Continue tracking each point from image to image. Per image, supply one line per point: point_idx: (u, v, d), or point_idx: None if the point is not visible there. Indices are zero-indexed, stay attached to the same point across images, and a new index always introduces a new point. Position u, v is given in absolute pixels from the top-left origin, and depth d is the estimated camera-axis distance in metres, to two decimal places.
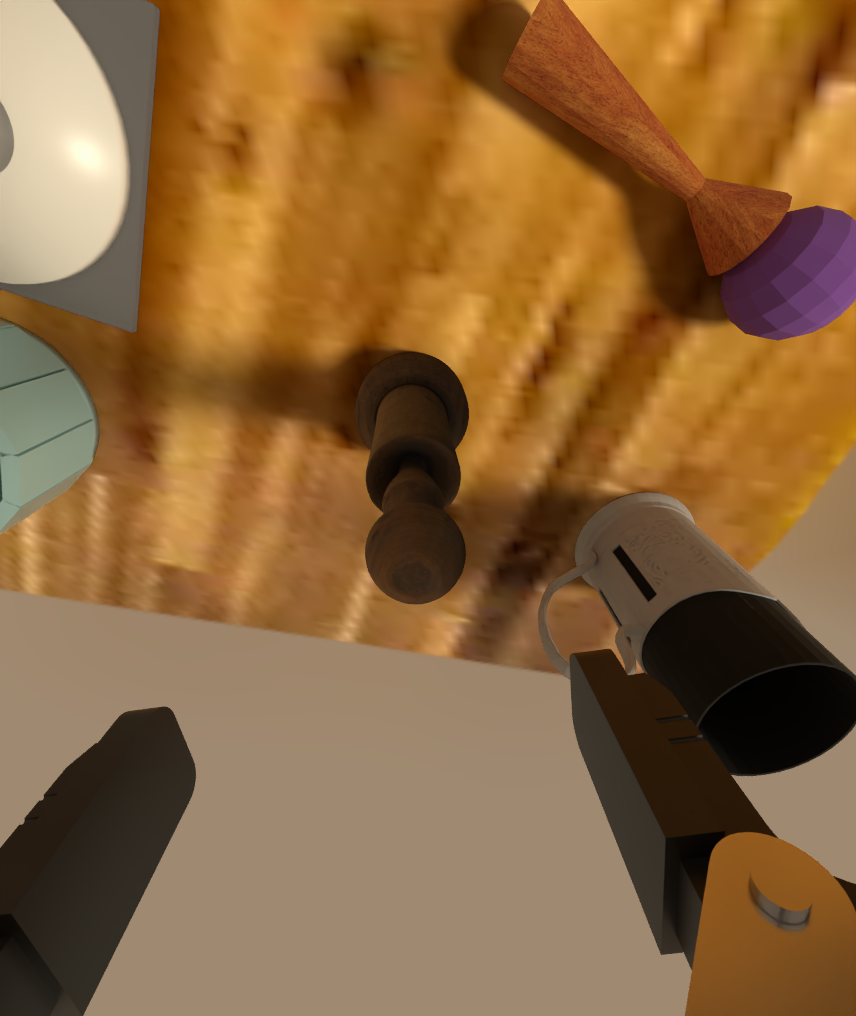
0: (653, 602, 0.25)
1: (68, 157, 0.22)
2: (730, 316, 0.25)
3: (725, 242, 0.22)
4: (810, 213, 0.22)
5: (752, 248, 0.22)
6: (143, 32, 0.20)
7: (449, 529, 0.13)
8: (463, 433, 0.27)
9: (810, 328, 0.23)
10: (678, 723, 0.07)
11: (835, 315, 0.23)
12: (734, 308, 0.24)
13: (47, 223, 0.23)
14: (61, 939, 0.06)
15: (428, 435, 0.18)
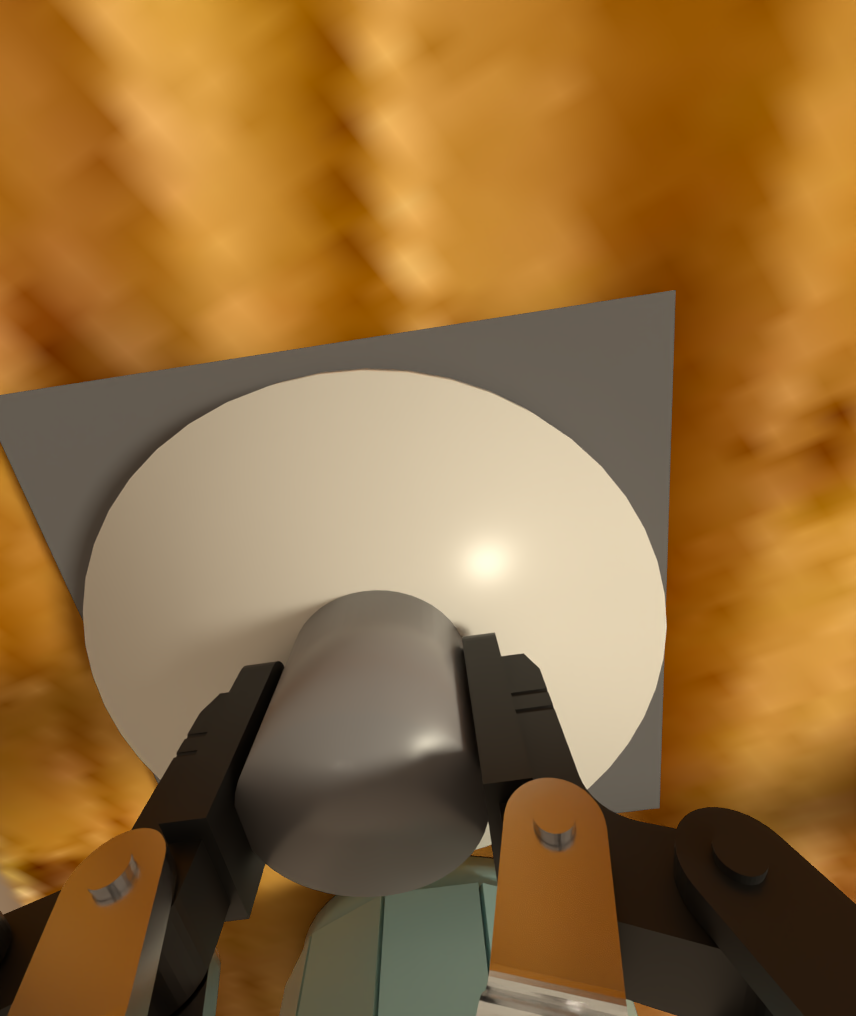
0: None
1: (565, 633, 0.10)
2: None
3: None
4: None
5: None
6: (655, 350, 0.09)
7: None
8: None
9: None
10: (536, 695, 0.08)
11: None
12: None
13: None
14: (233, 848, 0.07)
15: None
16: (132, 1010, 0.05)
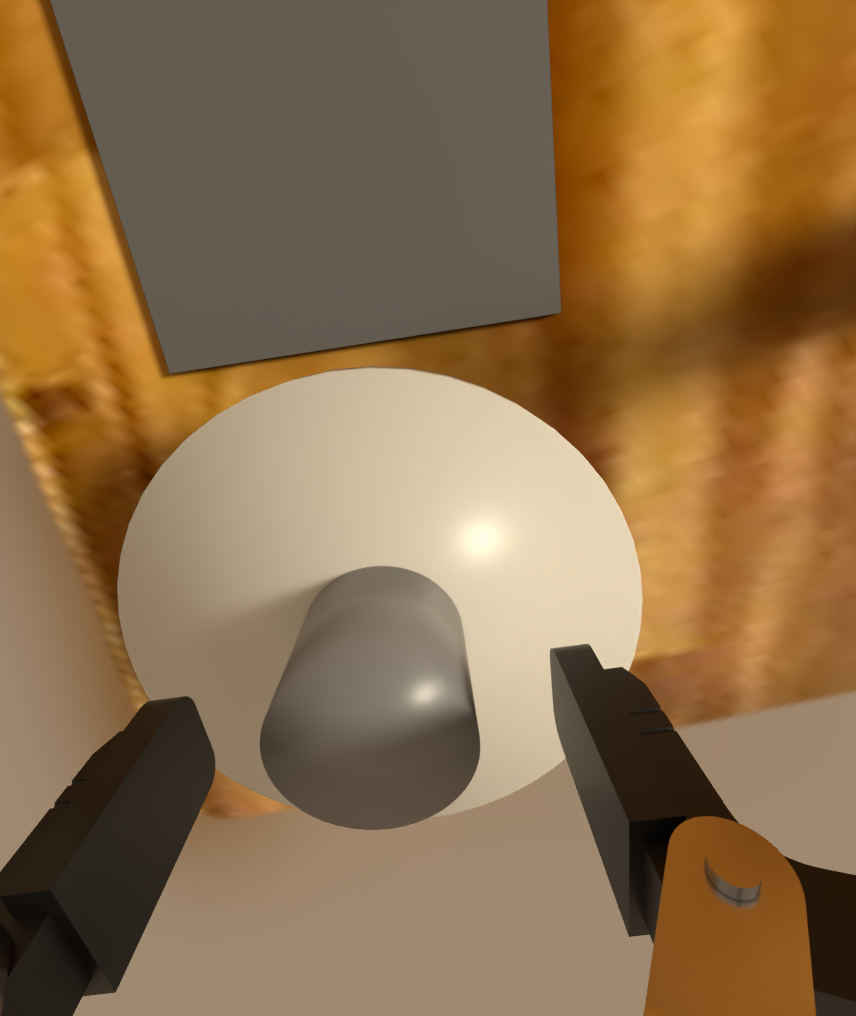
0: None
1: (551, 606, 0.12)
2: None
3: None
4: None
5: None
6: None
7: None
8: None
9: None
10: (651, 715, 0.08)
11: None
12: None
13: (525, 708, 0.13)
14: (95, 916, 0.06)
15: None
16: None
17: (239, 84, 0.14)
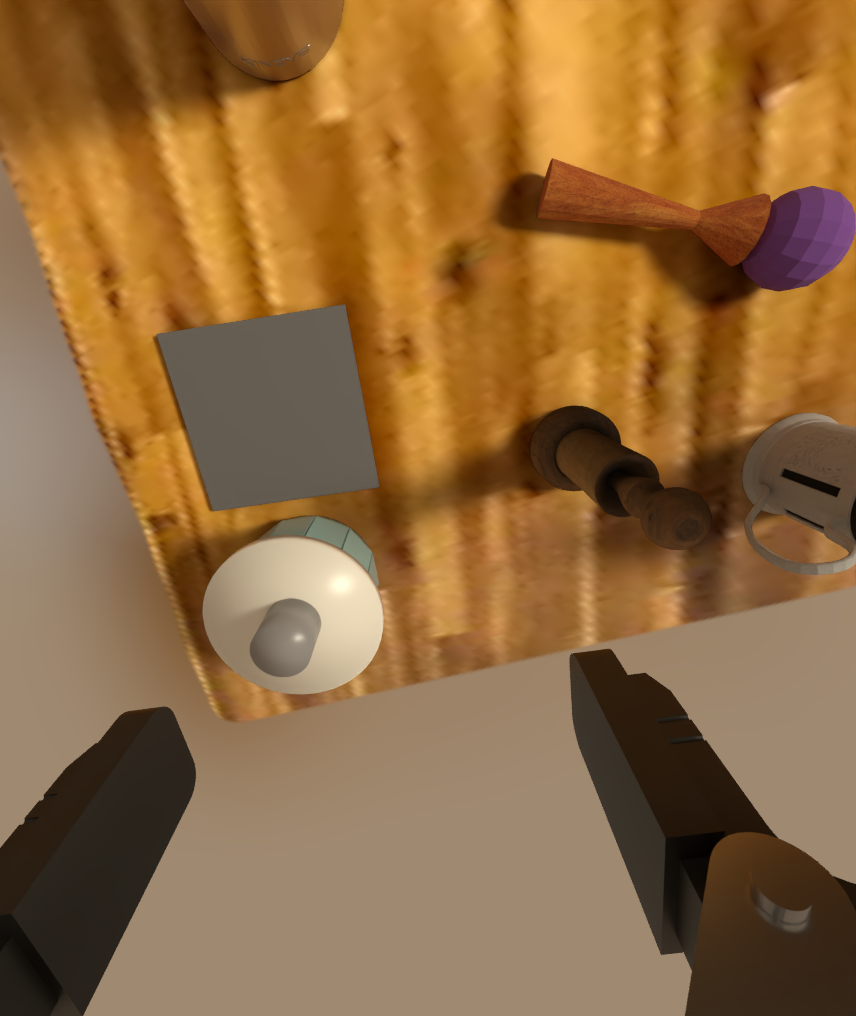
0: (841, 495, 0.31)
1: (350, 611, 0.34)
2: (760, 285, 0.32)
3: (734, 243, 0.30)
4: (788, 199, 0.29)
5: (756, 239, 0.30)
6: (342, 321, 0.34)
7: (693, 494, 0.22)
8: None
9: (828, 269, 0.30)
10: (678, 723, 0.07)
11: (844, 252, 0.30)
12: (761, 279, 0.32)
13: (347, 648, 0.35)
14: (61, 939, 0.06)
15: (625, 454, 0.27)
16: None
17: (243, 410, 0.36)
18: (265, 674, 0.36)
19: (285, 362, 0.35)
